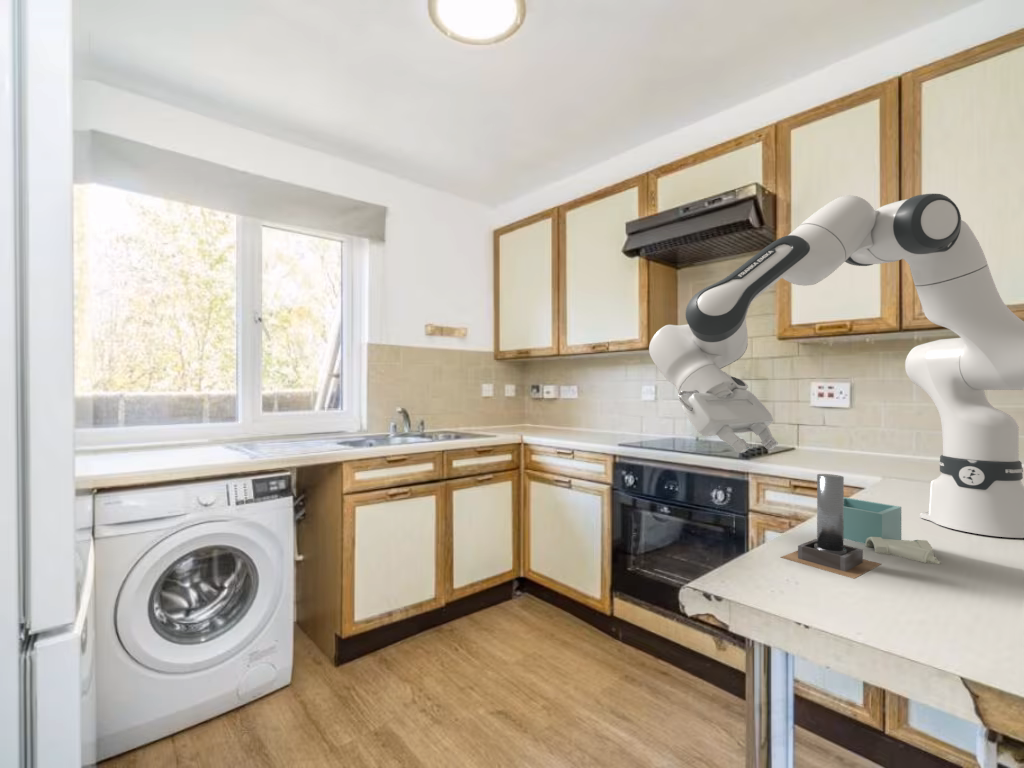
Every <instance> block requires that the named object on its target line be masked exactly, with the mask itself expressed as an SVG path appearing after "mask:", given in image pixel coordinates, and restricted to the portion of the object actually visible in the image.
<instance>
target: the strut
mask: <svg viewBox="0 0 1024 768" xmlns="http://www.w3.org/2000/svg"><path fill="white" fill-rule="evenodd" d="M816 479H817V480H816V483H817V484H816V487H817V488H816V519H817V520H816V539H817V543H816V544H814V549H818V550H822V551H826V552H830V553H834V554H837V555H841V556H843V555H845V554H847V549H845V548H844V545H845V544H844V541H845V539H844V497H845V496H844V495H845V493H844V492H845V491H844V490H845V489H844V485H845V484H844V483H845V482H844V479H845V477H844V476H842V475H838V474H833V473H832V474H831V473H830V474H829V473H818V474H817V475H816Z"/></svg>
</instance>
